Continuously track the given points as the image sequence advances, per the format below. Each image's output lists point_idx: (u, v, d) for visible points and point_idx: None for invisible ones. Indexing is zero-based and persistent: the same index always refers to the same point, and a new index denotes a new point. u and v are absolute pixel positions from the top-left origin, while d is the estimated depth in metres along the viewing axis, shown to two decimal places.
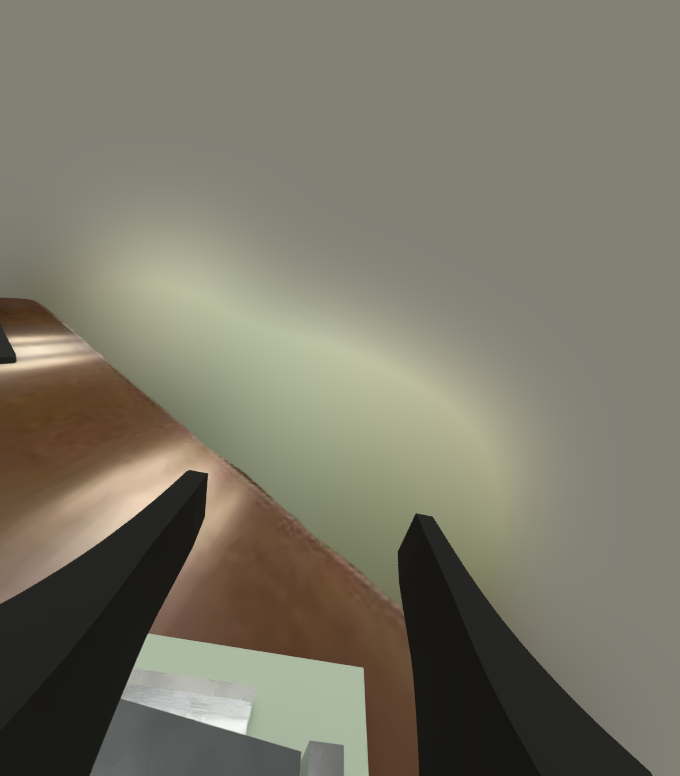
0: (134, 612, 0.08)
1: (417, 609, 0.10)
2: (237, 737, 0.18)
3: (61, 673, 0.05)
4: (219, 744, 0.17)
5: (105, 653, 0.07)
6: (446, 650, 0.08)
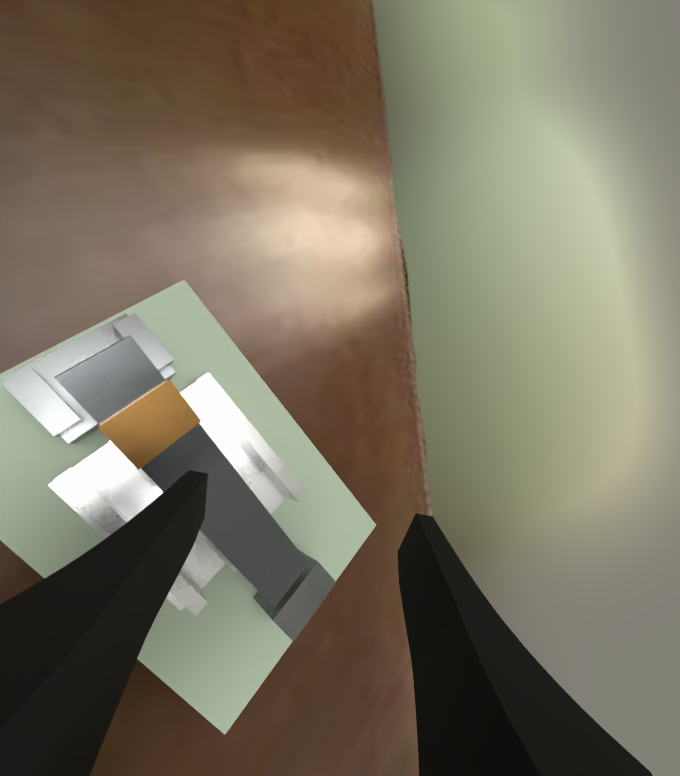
0: (134, 612, 0.08)
1: (418, 609, 0.10)
2: (277, 529, 0.20)
3: (61, 673, 0.05)
4: (264, 526, 0.19)
5: (105, 653, 0.07)
6: (446, 650, 0.08)
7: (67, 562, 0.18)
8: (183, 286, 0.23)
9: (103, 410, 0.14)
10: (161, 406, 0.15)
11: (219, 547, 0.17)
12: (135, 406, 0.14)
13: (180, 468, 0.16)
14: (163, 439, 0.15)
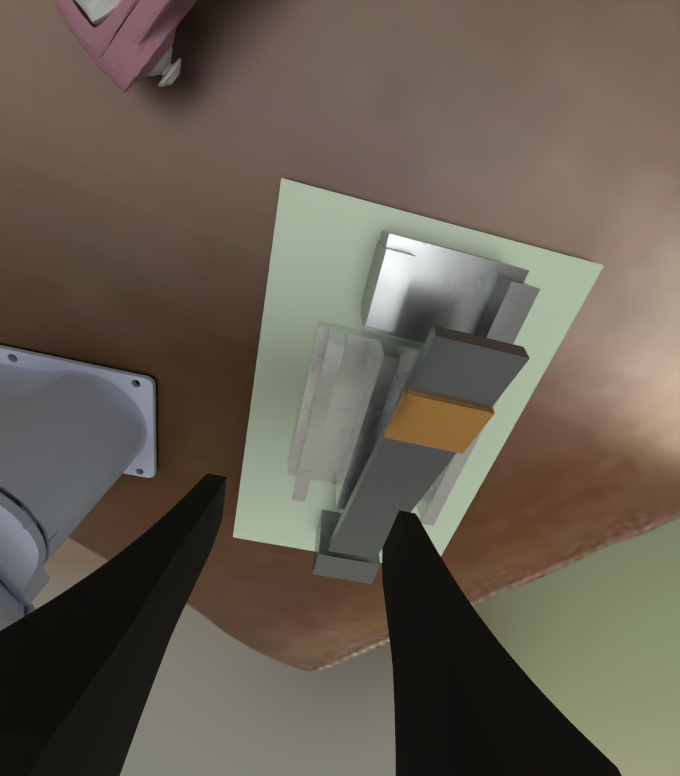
0: (161, 616, 0.08)
1: (398, 606, 0.10)
2: None
3: (101, 678, 0.05)
4: (387, 525, 0.18)
5: (136, 657, 0.07)
6: (423, 646, 0.08)
7: (273, 375, 0.20)
8: (593, 271, 0.17)
9: (425, 385, 0.11)
10: (459, 422, 0.12)
11: (351, 506, 0.17)
12: (445, 405, 0.12)
13: (403, 458, 0.14)
14: (424, 438, 0.13)
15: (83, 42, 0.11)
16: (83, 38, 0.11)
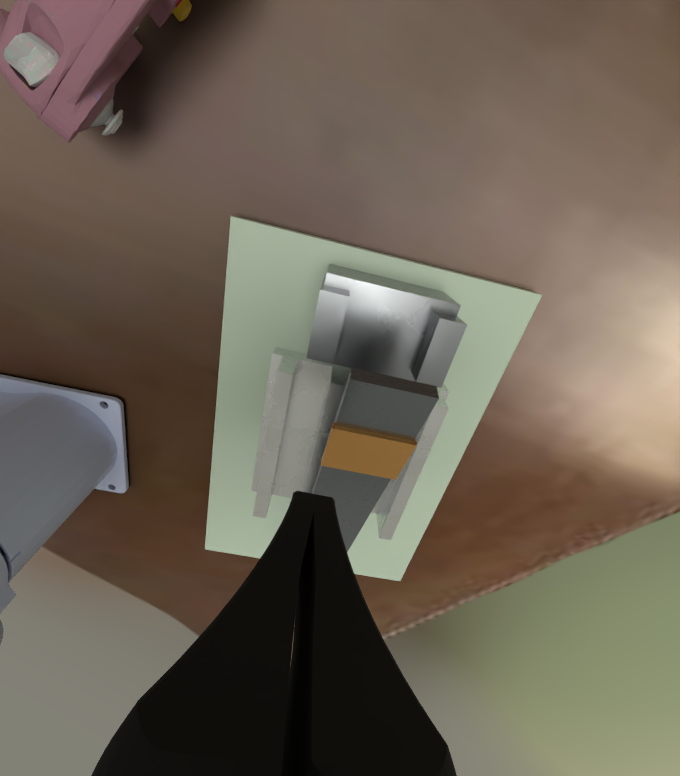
0: None
1: (302, 590, 0.10)
2: None
3: None
4: None
5: None
6: (305, 628, 0.08)
7: (234, 397, 0.21)
8: (532, 300, 0.18)
9: (349, 420, 0.12)
10: (386, 452, 0.13)
11: None
12: (371, 438, 0.13)
13: (343, 482, 0.15)
14: (357, 466, 0.14)
15: (24, 100, 0.12)
16: (23, 98, 0.12)
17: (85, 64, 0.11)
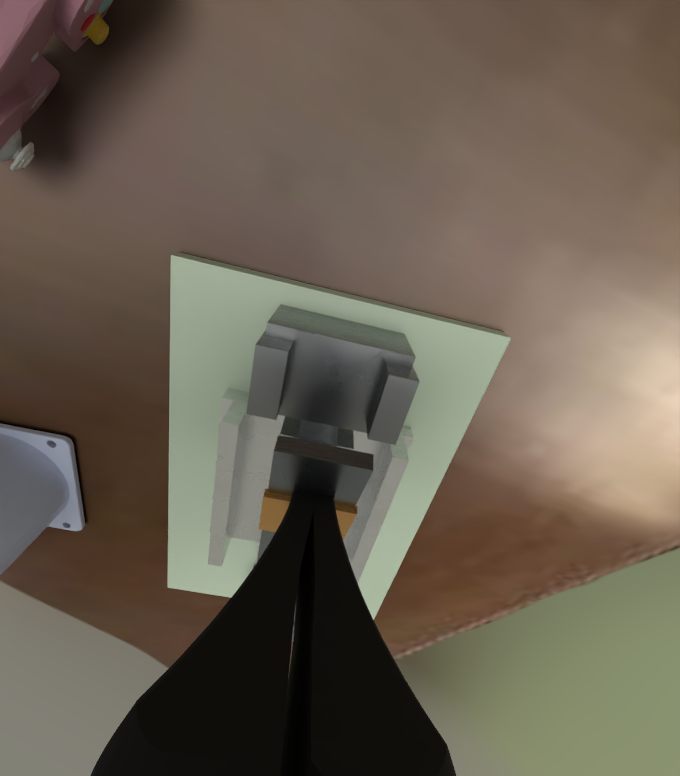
0: None
1: (301, 590, 0.10)
2: None
3: None
4: None
5: None
6: (305, 628, 0.08)
7: (188, 438, 0.19)
8: (501, 343, 0.16)
9: (281, 488, 0.11)
10: None
11: None
12: None
13: None
14: None
15: None
16: None
17: None
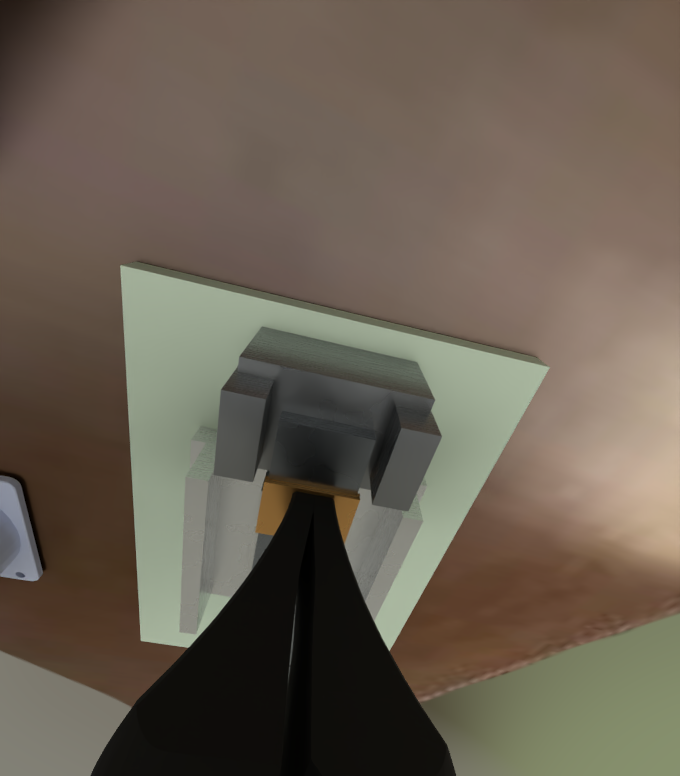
0: None
1: (301, 590, 0.10)
2: None
3: None
4: (291, 644, 0.16)
5: None
6: (305, 628, 0.08)
7: (155, 483, 0.16)
8: (536, 373, 0.13)
9: (283, 472, 0.11)
10: None
11: None
12: None
13: None
14: None
15: None
16: None
17: None
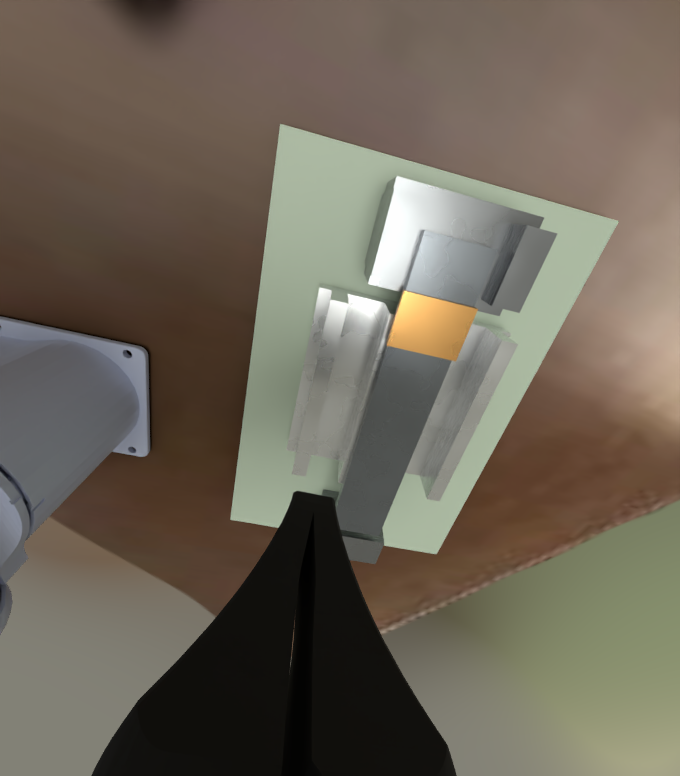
0: None
1: (302, 590, 0.10)
2: (394, 489, 0.19)
3: None
4: (391, 476, 0.18)
5: None
6: (305, 628, 0.08)
7: (272, 343, 0.19)
8: (607, 227, 0.16)
9: (419, 283, 0.14)
10: (449, 321, 0.14)
11: (356, 451, 0.18)
12: (437, 302, 0.14)
13: (404, 375, 0.16)
14: (421, 344, 0.15)
15: None
16: None
17: None
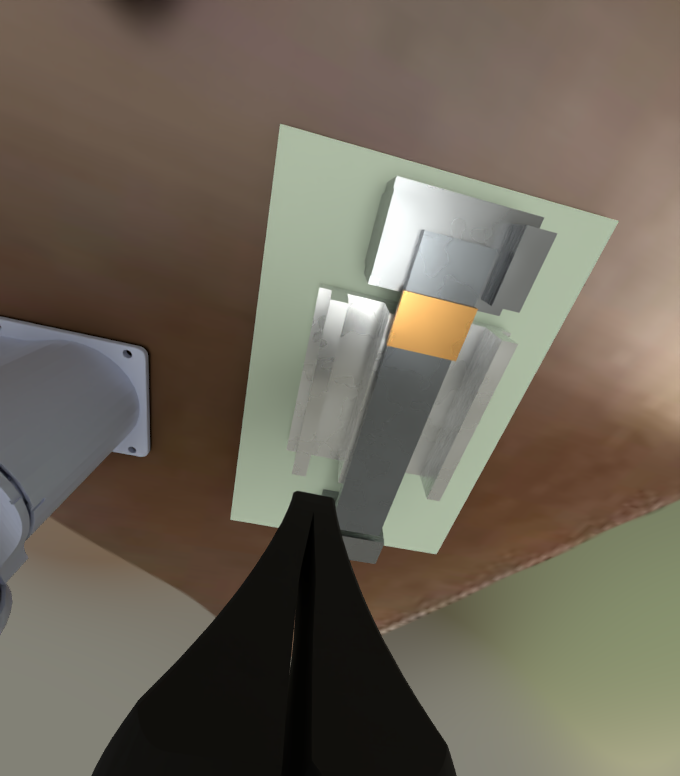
0: None
1: (302, 590, 0.10)
2: (394, 489, 0.19)
3: None
4: (391, 476, 0.18)
5: None
6: (305, 628, 0.08)
7: (272, 343, 0.19)
8: (607, 227, 0.16)
9: (418, 283, 0.14)
10: (449, 321, 0.14)
11: (356, 451, 0.18)
12: (437, 302, 0.14)
13: (404, 375, 0.16)
14: (421, 344, 0.15)
15: None
16: None
17: None
